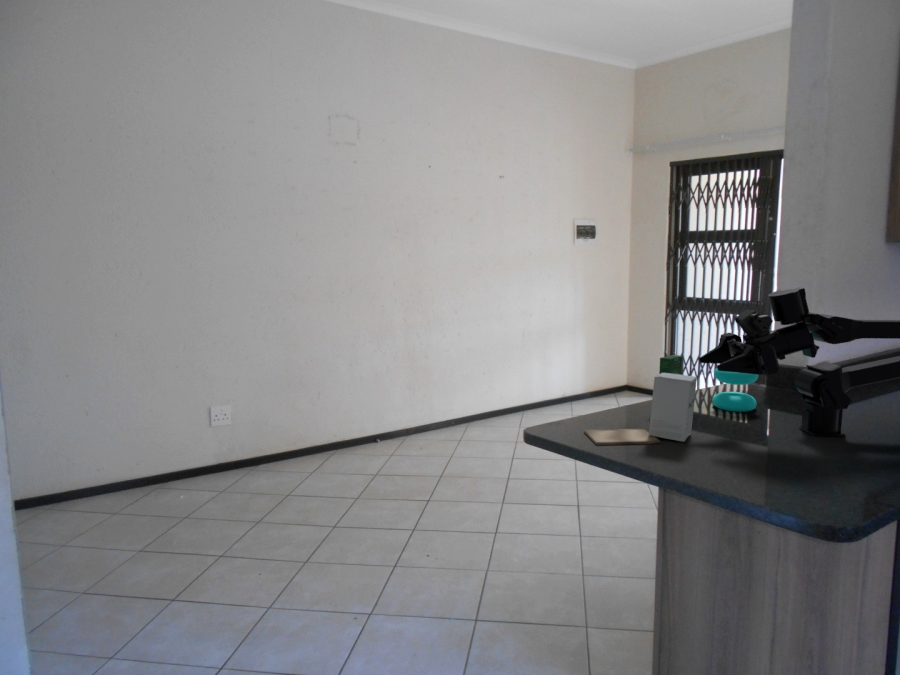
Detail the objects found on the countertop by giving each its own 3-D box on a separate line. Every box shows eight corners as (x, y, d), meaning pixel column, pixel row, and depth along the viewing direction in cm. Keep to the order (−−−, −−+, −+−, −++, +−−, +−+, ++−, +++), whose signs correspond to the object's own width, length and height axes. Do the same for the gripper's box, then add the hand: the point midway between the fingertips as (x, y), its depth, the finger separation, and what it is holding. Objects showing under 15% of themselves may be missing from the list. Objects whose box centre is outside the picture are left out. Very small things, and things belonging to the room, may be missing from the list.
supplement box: (685, 442, 122) (691, 380, 121) (647, 435, 126) (653, 375, 125) (692, 434, 128) (698, 376, 127) (656, 428, 132) (661, 371, 131)
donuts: (720, 371, 146) (709, 364, 156) (718, 412, 147) (707, 402, 157) (765, 372, 145) (750, 365, 154) (762, 413, 146) (748, 403, 156)
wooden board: (643, 431, 131) (643, 428, 131) (660, 443, 123) (660, 440, 122) (584, 432, 131) (584, 430, 131) (597, 445, 122) (597, 442, 122)
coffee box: (670, 404, 156) (672, 353, 154) (681, 405, 154) (683, 354, 152) (656, 409, 150) (658, 357, 148) (667, 411, 148) (670, 358, 146)
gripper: (750, 302, 135) (682, 323, 136) (796, 309, 117) (717, 333, 118) (762, 349, 137) (694, 369, 137) (809, 364, 118) (731, 387, 119)
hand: (708, 364), depth 128 cm, fingers open, 9 cm apart
